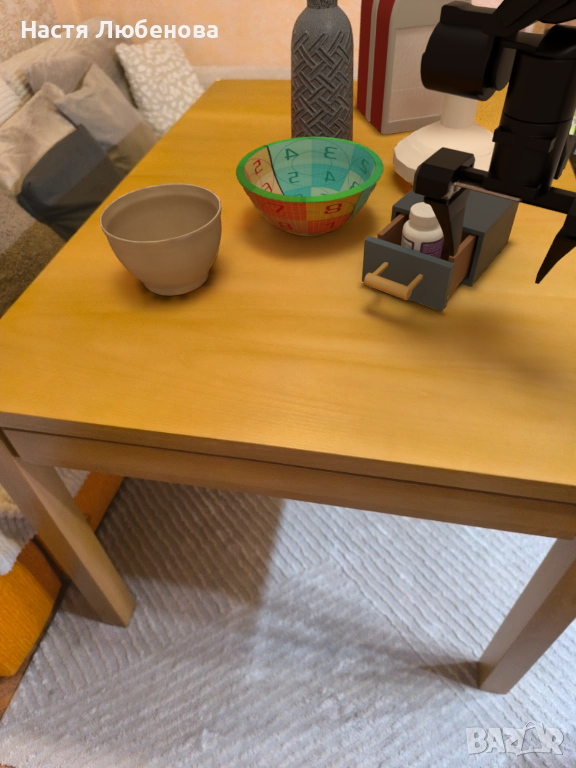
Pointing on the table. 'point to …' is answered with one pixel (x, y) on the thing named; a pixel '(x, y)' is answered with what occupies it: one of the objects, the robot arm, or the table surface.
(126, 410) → the table surface
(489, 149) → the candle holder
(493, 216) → the cabinet
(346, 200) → the bowl
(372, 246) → the drawer
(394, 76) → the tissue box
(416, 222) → the pill bottle
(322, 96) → the vase
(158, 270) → the planter bowl
